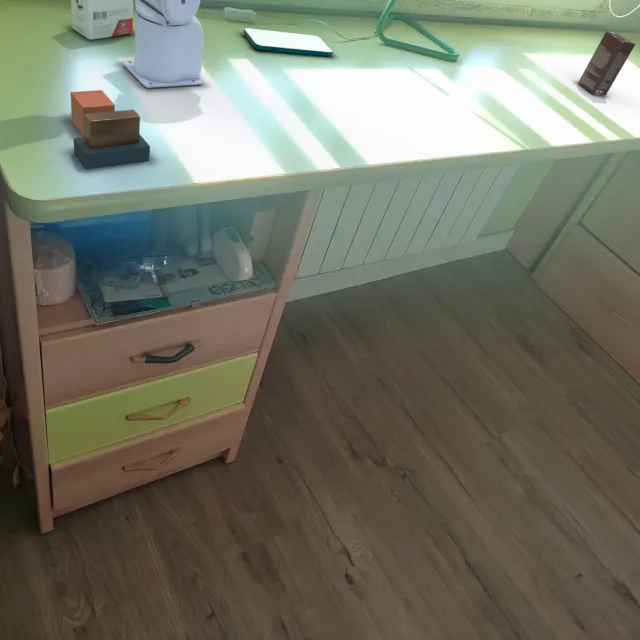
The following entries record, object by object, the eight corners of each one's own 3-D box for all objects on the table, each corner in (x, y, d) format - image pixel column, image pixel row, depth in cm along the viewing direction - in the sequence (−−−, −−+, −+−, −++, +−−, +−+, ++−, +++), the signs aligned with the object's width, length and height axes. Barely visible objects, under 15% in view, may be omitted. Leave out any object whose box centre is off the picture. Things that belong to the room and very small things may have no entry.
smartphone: (317, 40, 121) (241, 32, 114) (318, 35, 120) (242, 27, 113) (333, 57, 116) (255, 50, 109) (334, 52, 116) (256, 45, 108)
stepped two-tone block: (136, 145, 77) (138, 104, 74) (149, 160, 76) (151, 119, 72) (73, 153, 73) (72, 110, 69) (85, 169, 71) (84, 126, 68)
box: (606, 96, 140) (637, 43, 132) (592, 94, 138) (622, 41, 130) (590, 84, 144) (619, 32, 136) (576, 82, 142) (604, 30, 134)
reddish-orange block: (102, 118, 80) (101, 89, 77) (114, 134, 78) (115, 104, 75) (71, 121, 78) (70, 91, 75) (83, 137, 76) (83, 107, 73)
